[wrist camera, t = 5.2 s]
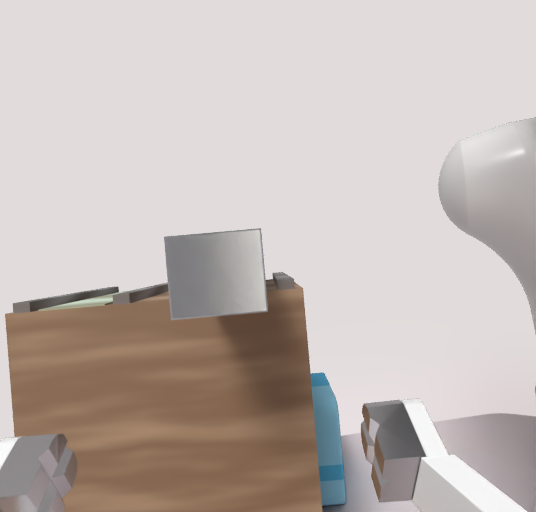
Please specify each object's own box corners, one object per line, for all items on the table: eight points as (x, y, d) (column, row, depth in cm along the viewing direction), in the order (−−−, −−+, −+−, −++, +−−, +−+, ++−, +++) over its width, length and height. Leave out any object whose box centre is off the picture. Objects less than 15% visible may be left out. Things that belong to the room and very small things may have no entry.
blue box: (347, 511, 42) (337, 400, 42) (306, 514, 42) (296, 404, 42) (330, 454, 54) (323, 369, 54) (298, 457, 54) (291, 372, 54)
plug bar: (268, 311, 14) (260, 228, 14) (171, 320, 14) (164, 236, 14) (265, 280, 37) (263, 248, 37) (229, 283, 37) (226, 251, 37)
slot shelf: (341, 721, 23) (301, 278, 23) (39, 751, 23) (4, 304, 23) (311, 546, 37) (287, 271, 37) (125, 564, 37) (102, 288, 37)
